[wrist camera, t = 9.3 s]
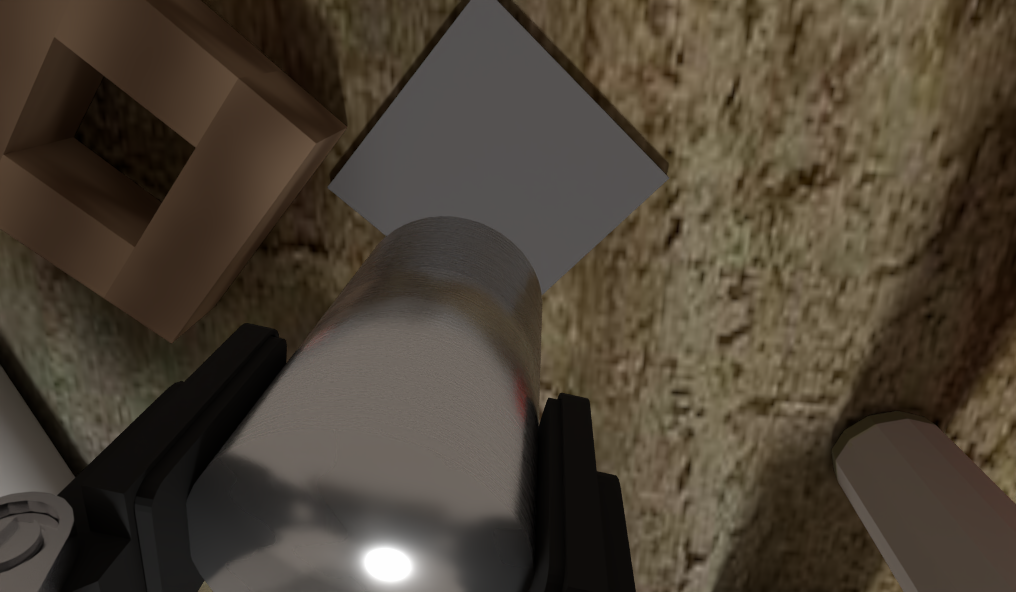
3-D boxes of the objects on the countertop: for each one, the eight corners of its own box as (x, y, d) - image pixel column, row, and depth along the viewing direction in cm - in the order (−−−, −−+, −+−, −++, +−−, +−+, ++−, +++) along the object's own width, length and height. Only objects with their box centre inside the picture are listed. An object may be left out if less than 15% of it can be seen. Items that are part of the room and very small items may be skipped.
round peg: (580, 301, 14) (610, 574, 7) (461, 406, 16) (394, 701, 9) (437, 175, 13) (304, 358, 6) (326, 304, 15) (126, 558, 8)
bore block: (347, 127, 26) (316, 143, 23) (213, 307, 32) (171, 343, 28) (77, -107, 23) (-10, -131, 19) (-23, 140, 28) (-106, 158, 24)
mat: (667, 175, 26) (669, 178, 26) (503, 326, 31) (502, 331, 30) (483, -15, 23) (482, -15, 23) (330, 184, 28) (327, 187, 27)
